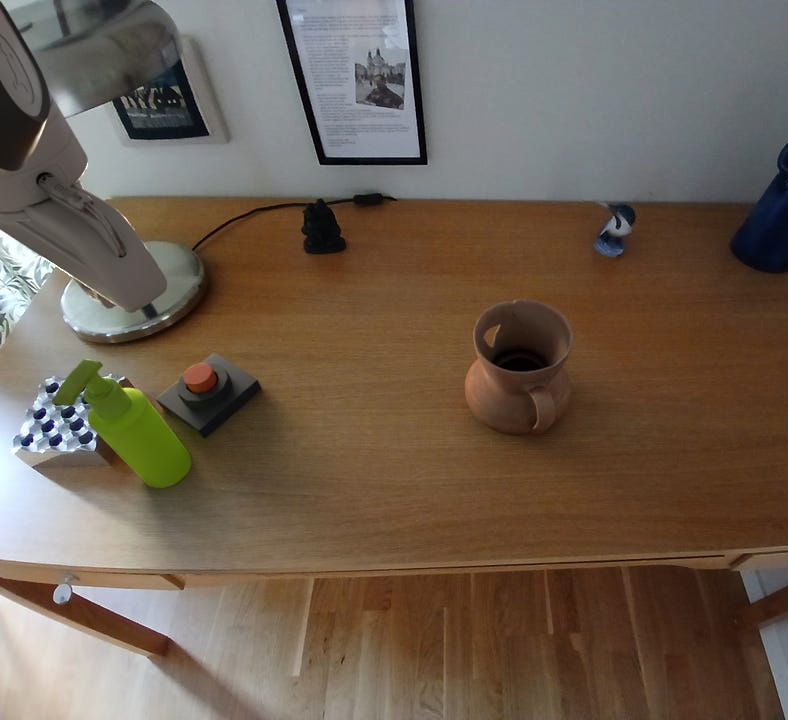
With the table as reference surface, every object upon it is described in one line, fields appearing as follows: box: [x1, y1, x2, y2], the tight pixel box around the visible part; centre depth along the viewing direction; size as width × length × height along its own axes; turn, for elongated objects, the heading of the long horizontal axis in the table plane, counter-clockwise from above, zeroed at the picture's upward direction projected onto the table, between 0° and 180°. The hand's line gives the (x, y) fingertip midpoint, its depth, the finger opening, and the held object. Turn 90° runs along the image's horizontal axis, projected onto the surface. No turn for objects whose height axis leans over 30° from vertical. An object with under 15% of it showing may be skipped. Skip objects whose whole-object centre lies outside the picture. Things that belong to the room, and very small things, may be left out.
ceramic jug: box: [464, 298, 574, 437], centre depth 72 cm, size 18×14×14 cm
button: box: [183, 362, 217, 394], centre depth 74 cm, size 4×4×2 cm
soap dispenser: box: [51, 359, 193, 489], centre depth 63 cm, size 6×7×20 cm
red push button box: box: [154, 352, 263, 440], centre depth 76 cm, size 10×9×4 cm
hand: (107, 298), depth 49 cm, fingers closed
